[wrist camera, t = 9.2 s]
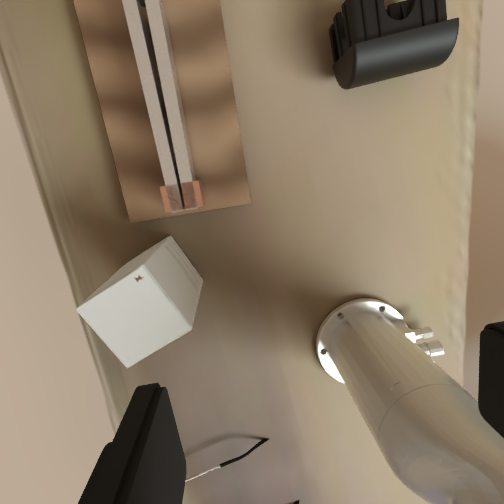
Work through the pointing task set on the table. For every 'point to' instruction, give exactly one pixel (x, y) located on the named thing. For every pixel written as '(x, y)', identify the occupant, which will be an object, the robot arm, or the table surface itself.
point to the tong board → (190, 84)
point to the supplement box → (145, 302)
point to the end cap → (389, 39)
